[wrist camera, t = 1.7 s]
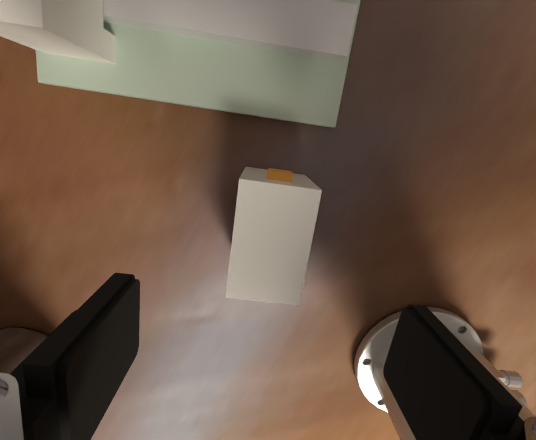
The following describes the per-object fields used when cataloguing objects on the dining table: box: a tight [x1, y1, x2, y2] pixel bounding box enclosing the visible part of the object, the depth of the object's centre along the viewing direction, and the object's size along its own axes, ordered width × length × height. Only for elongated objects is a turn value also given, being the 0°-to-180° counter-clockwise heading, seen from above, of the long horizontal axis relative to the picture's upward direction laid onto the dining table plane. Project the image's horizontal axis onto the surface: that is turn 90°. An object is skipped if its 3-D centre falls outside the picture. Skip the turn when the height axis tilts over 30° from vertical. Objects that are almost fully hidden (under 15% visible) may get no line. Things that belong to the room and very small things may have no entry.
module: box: [226, 167, 322, 306], centre depth 22 cm, size 5×9×7 cm, turn 172°
